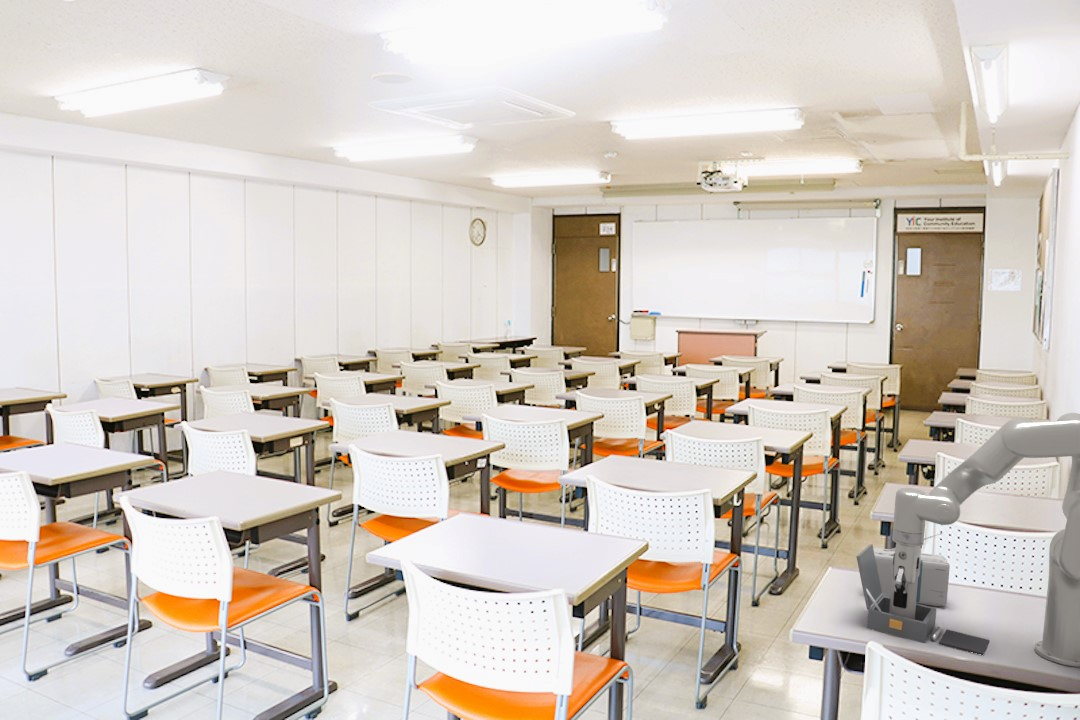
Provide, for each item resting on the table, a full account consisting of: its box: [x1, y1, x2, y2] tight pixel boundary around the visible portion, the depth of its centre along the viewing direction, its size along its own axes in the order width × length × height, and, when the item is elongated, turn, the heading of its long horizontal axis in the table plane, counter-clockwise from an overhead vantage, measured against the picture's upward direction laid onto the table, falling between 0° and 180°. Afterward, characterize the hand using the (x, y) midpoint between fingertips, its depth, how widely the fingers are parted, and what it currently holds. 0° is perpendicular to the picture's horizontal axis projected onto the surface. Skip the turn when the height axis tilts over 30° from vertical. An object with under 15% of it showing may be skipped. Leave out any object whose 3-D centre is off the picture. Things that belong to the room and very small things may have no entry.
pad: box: [938, 628, 990, 656], centre depth 214 cm, size 10×10×1 cm
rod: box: [930, 626, 943, 642], centre depth 218 cm, size 1×9×1 cm, turn 145°
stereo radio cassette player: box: [873, 532, 951, 608], centre depth 241 cm, size 21×8×20 cm, turn 73°
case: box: [855, 543, 937, 644], centre depth 222 cm, size 18×14×19 cm
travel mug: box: [889, 553, 919, 620], centre depth 221 cm, size 6×7×20 cm
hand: (902, 602), depth 222 cm, fingers closed on travel mug, 6 cm apart
